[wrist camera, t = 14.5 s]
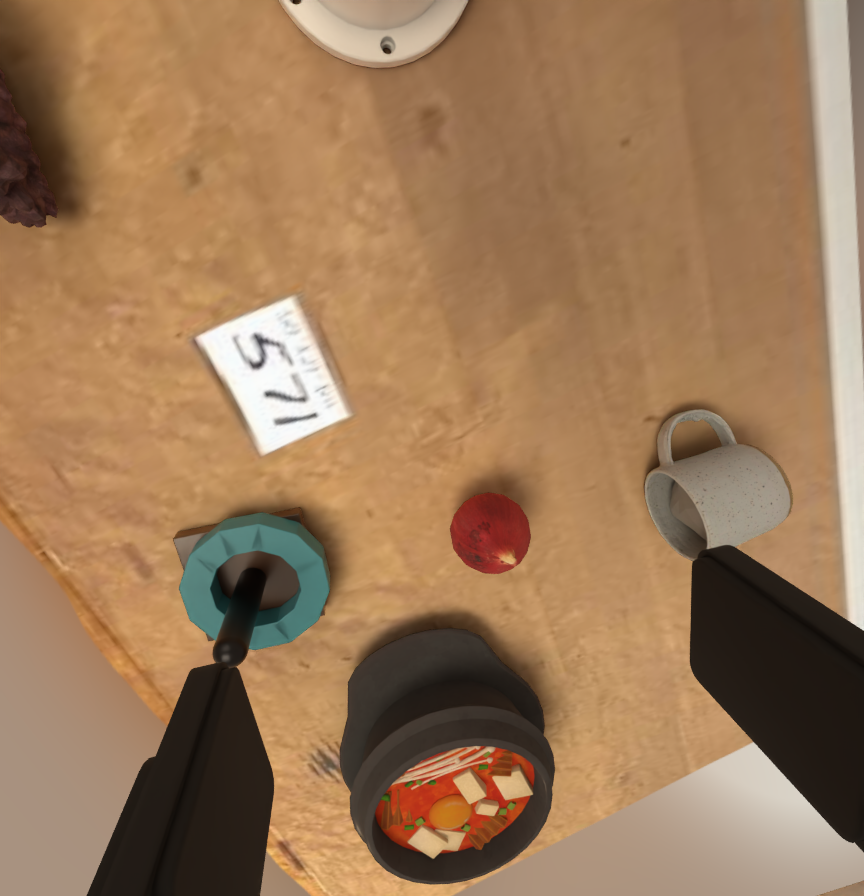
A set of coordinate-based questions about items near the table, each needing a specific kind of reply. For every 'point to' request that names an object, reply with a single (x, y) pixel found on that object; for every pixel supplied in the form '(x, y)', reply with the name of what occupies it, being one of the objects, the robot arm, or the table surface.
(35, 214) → the pine cone
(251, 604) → the stand
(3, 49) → the table surface
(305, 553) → the ring
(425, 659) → the casserole
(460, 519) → the onion
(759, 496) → the ceramic mug
